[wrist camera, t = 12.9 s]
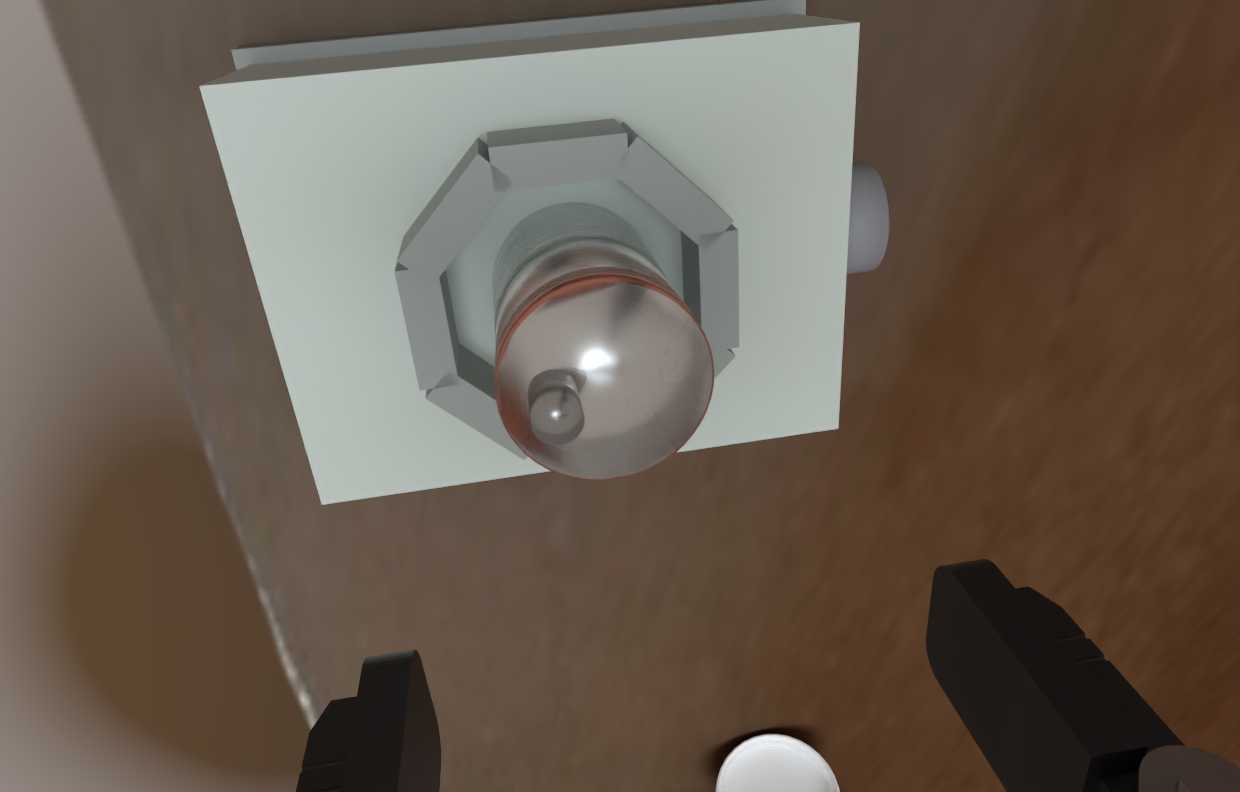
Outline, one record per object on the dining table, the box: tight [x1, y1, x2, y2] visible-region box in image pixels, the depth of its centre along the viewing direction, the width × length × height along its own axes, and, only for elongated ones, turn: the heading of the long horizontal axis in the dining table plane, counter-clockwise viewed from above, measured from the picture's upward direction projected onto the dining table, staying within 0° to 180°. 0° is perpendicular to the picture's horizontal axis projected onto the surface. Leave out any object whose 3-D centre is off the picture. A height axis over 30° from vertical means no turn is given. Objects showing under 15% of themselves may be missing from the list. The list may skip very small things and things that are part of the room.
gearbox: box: [199, 0, 889, 505], centre depth 29 cm, size 22×15×10 cm
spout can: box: [492, 202, 714, 481], centre depth 23 cm, size 5×5×10 cm
